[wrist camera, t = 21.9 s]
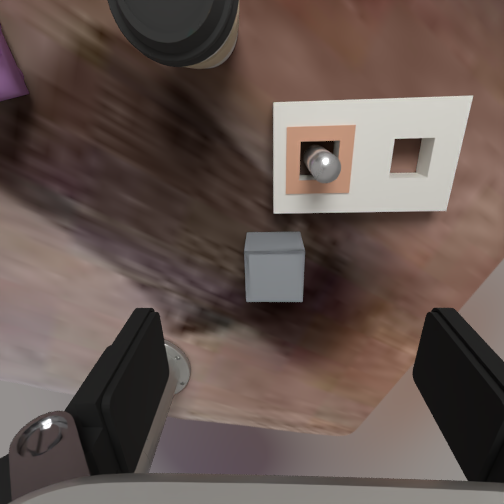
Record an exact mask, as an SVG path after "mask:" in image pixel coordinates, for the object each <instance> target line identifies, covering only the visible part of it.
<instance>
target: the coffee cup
mask: <svg viewBox="0 0 504 504" xmlns="http://www.w3.org/2000/svg"><path fill="white" fill-rule="evenodd" d="M108 3H109V7H110V10H111V12H112V15H113V17H114V19H115V21H116V23H117V25H118V27H119V29H120V30H121V32H122V33H123V35H124V36H125V37H126V38H127V40H128V41H129V42H130V43H131V44H132V45H133V46H134V47H135V48H137V49H138V50H139V51H140V52H141V53H143V54H144V55H145V56H147V57H148V58H150V59H152V60H154V61H156V62H158V63H160V64H163V65H167V66H173V67H187V68H195V69H204V68H214V67H217V66H219V65H221V64H222V63H223V62H225V61H226V60H227V59H228V58H229V56H230V55H231V53H232V52H233V50H234V47H235V45H236V41H237V36H238V27H239V0H108Z"/></svg>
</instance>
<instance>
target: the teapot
mask: <svg viewBox="0 0 504 504" xmlns="http://www.w3.org/2000/svg"><path fill="white" fill-rule="evenodd" d="M27 94H29V91H28V89H27V87H26V85H25V82H24V76H23V73H22V71H21V70H20V69H19V68H18V67H17V65H16V62H15V60H14V58H13V56H12V53H11V51H10V49H9V47H8V45H7V42H6V40H5V38H4V36H3V34H2V31H1V24H0V102H1V101H4V100H8V99H12V98H16V97H19V96H23V95H27Z"/></svg>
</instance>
